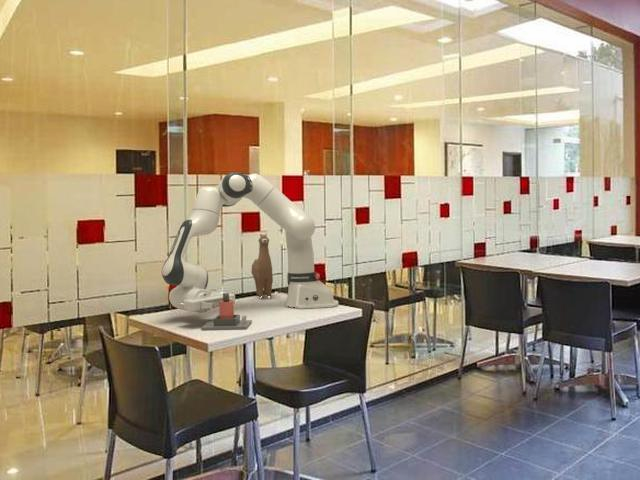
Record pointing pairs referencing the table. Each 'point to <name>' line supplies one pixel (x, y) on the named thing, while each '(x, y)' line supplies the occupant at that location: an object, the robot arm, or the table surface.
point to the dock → (227, 323)
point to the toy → (263, 268)
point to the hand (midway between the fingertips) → (223, 303)
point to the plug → (226, 307)
